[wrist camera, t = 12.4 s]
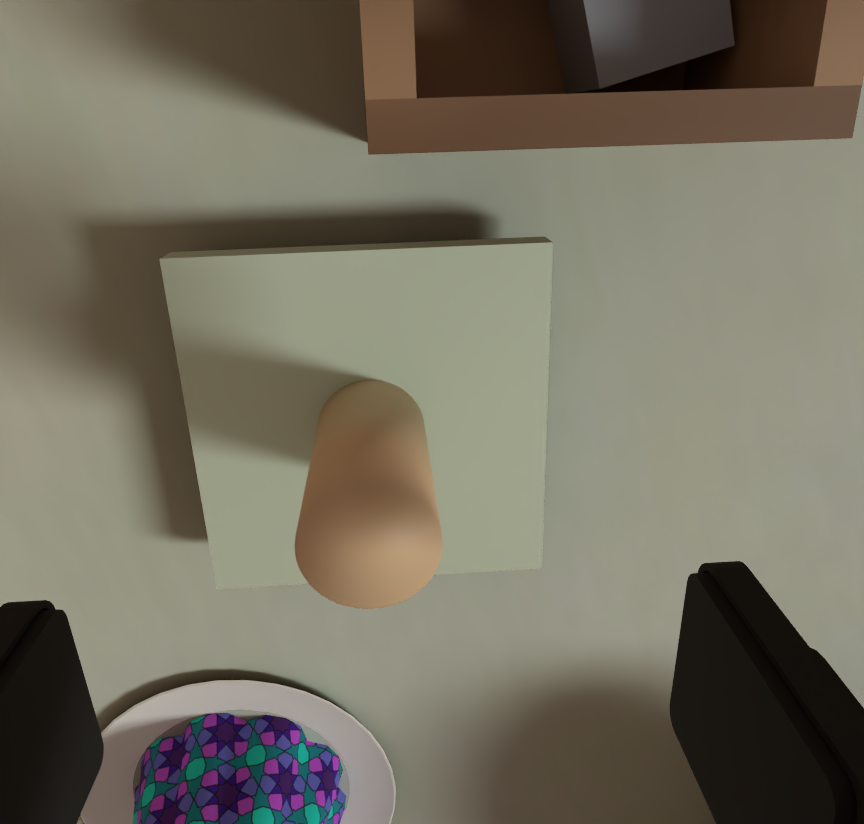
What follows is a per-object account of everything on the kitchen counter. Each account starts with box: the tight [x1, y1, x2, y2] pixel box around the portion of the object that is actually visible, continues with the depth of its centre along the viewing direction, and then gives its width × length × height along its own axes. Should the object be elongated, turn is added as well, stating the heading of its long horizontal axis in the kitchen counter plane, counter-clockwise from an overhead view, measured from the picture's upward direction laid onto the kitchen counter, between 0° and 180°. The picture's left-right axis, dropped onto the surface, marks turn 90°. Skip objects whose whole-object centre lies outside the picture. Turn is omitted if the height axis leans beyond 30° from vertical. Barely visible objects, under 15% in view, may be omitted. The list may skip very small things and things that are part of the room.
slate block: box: [547, 0, 735, 94], centre depth 16 cm, size 3×3×3 cm
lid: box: [159, 237, 553, 609], centre depth 18 cm, size 10×10×8 cm
